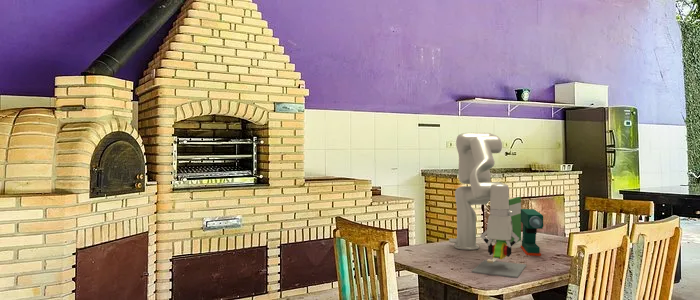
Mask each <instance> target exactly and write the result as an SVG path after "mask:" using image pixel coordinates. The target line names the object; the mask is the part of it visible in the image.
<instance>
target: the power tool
mask: <svg viewBox="0 0 700 300" xmlns="http://www.w3.org/2000/svg"><path fill="white" fill-rule="evenodd" d="M521 224H522V236H521V245H520V249H521V250H522V251H523V252H524V253H525V255H526V256H534V257H535V256H536V257H542V253H541V251H540V246H539V245H538V244H537V241H536V240H537V234H538V233H537V231H538V230H542V229H543V228H544V214H542V213H540V212H539V211H538V210H536V209H534V208H521ZM537 229H538V230H537Z"/></svg>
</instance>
